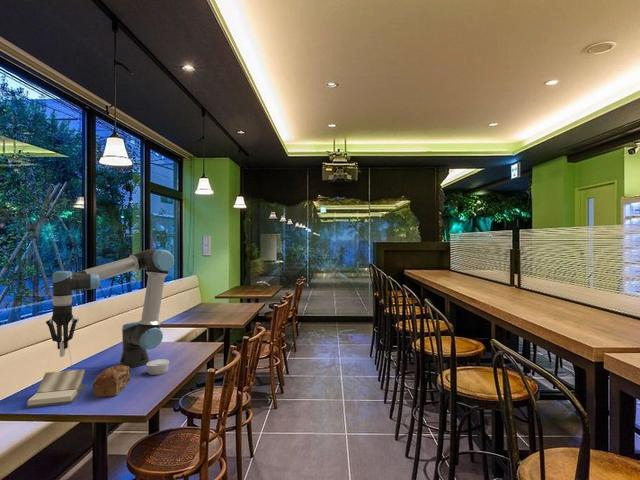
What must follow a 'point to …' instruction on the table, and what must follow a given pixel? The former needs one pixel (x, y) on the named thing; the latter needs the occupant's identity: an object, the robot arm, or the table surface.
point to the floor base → (54, 397)
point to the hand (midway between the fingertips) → (62, 355)
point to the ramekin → (157, 366)
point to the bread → (111, 381)
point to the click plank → (61, 381)
